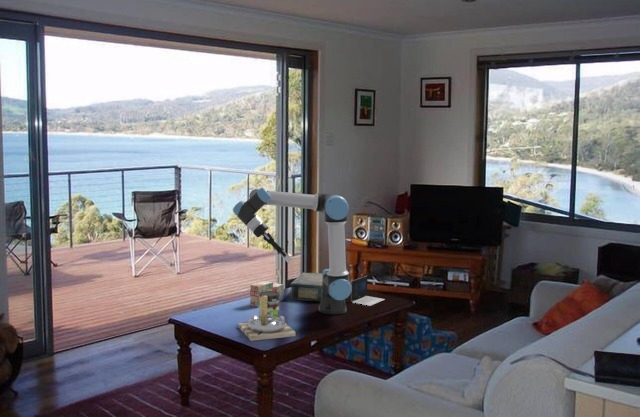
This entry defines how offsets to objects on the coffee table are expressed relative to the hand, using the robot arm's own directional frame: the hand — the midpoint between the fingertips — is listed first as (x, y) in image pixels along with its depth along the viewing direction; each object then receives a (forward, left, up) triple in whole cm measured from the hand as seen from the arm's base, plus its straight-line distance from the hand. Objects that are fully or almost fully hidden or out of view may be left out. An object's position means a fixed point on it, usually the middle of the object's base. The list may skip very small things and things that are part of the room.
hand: (290, 261), depth 329 cm
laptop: (-31, +59, -33) cm, 74 cm away
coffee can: (-12, -7, -33) cm, 36 cm away
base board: (+6, -14, -33) cm, 36 cm away
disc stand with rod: (+6, -14, -31) cm, 34 cm away
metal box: (-56, +35, -33) cm, 73 cm away
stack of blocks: (-45, +3, -33) cm, 56 cm away
